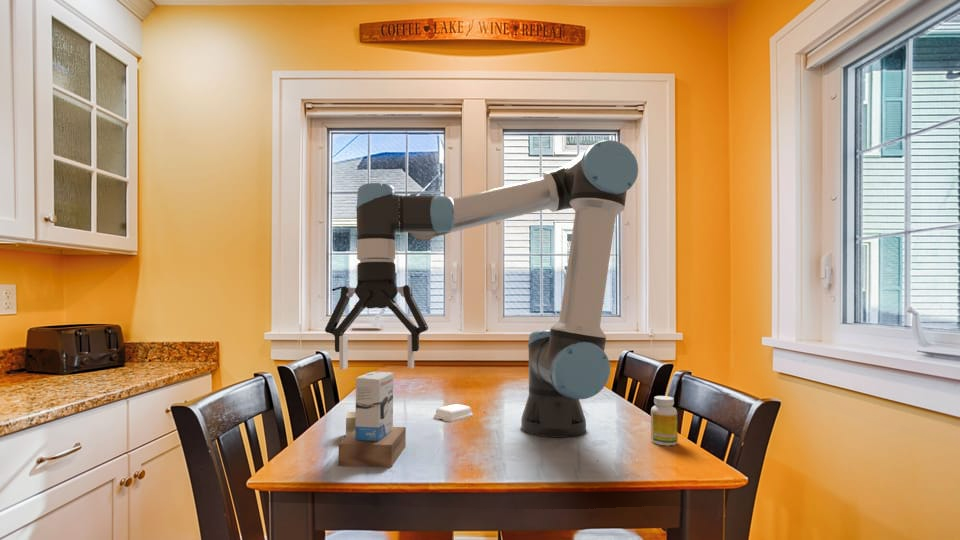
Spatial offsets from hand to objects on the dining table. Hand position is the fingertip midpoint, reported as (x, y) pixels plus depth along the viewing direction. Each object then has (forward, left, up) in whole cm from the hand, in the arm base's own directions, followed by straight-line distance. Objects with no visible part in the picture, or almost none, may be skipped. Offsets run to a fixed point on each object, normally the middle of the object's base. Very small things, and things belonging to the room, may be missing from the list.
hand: (377, 368), depth 97 cm
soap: (-12, -31, -18) cm, 38 cm away
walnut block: (0, 0, -17) cm, 17 cm away
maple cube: (+7, -12, -17) cm, 22 cm away
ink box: (0, 0, -13) cm, 13 cm away
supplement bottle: (-60, -13, -17) cm, 63 cm away
